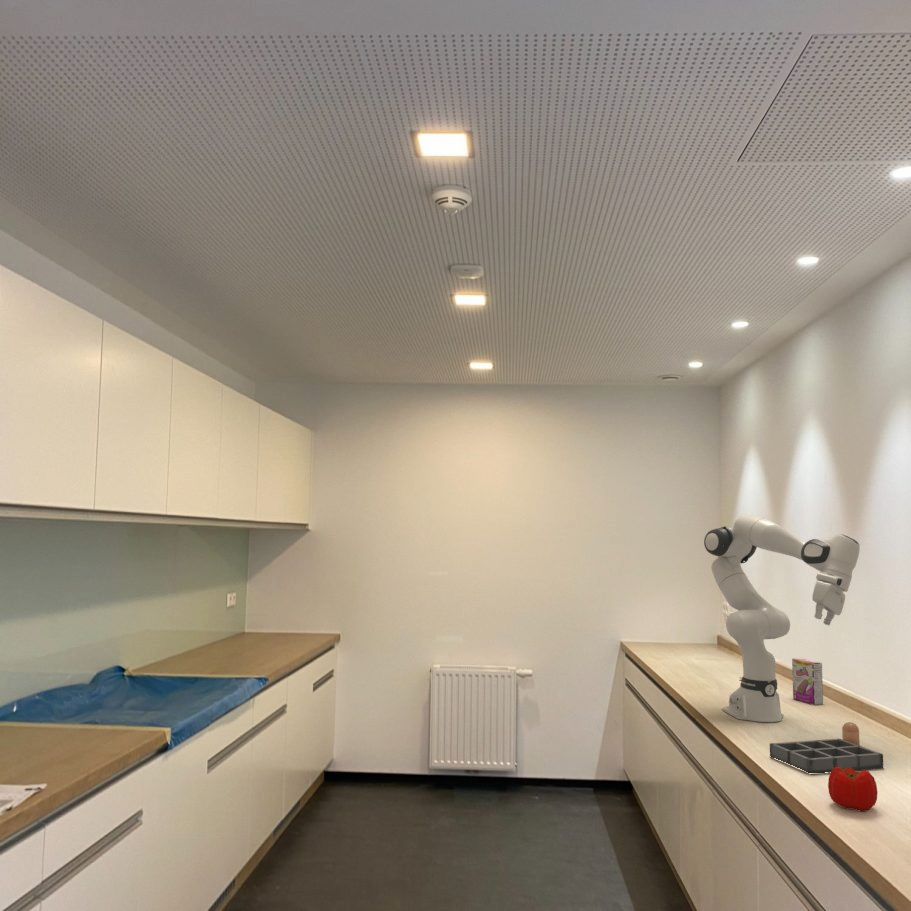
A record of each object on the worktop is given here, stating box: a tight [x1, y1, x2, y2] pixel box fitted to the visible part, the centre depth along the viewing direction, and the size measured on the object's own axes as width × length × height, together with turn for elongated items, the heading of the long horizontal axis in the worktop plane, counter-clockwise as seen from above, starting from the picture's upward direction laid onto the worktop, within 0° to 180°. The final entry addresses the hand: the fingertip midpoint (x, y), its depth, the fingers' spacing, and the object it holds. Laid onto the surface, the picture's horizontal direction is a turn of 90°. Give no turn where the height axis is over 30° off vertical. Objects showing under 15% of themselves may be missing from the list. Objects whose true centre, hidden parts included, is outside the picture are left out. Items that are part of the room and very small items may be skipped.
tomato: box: [827, 767, 878, 812], centre depth 196 cm, size 11×12×9 cm
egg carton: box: [769, 738, 884, 774], centre depth 233 cm, size 17×25×4 cm
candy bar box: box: [791, 657, 824, 706], centre depth 315 cm, size 11×5×16 cm, turn 22°
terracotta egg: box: [841, 721, 861, 746], centre depth 248 cm, size 5×5×8 cm
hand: (821, 621), depth 261 cm, fingers open, 8 cm apart
